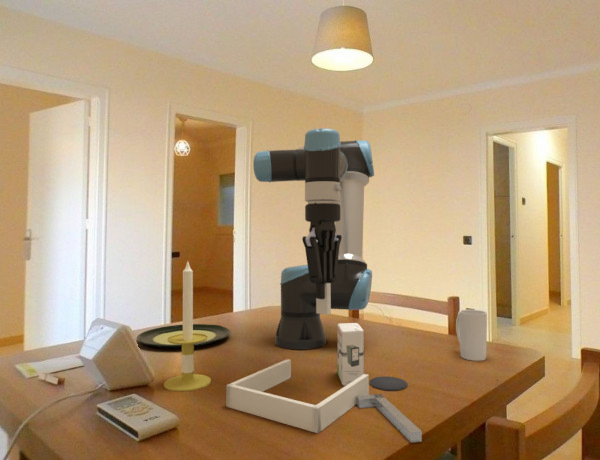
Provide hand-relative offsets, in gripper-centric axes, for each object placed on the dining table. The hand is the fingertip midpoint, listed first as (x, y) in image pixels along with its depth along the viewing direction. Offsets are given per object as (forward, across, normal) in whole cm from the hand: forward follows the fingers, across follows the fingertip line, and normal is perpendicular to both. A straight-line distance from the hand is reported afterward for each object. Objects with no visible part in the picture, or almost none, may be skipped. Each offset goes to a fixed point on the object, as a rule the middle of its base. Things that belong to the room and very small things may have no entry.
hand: (323, 313), depth 92 cm
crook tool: (+15, -10, -18) cm, 25 cm away
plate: (+17, +11, +56) cm, 59 cm away
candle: (+16, -15, +26) cm, 33 cm away
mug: (+17, +40, -21) cm, 48 cm away
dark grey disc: (+16, +8, -11) cm, 21 cm away
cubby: (+15, -10, 0) cm, 18 cm away
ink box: (+16, +6, -3) cm, 17 cm away
